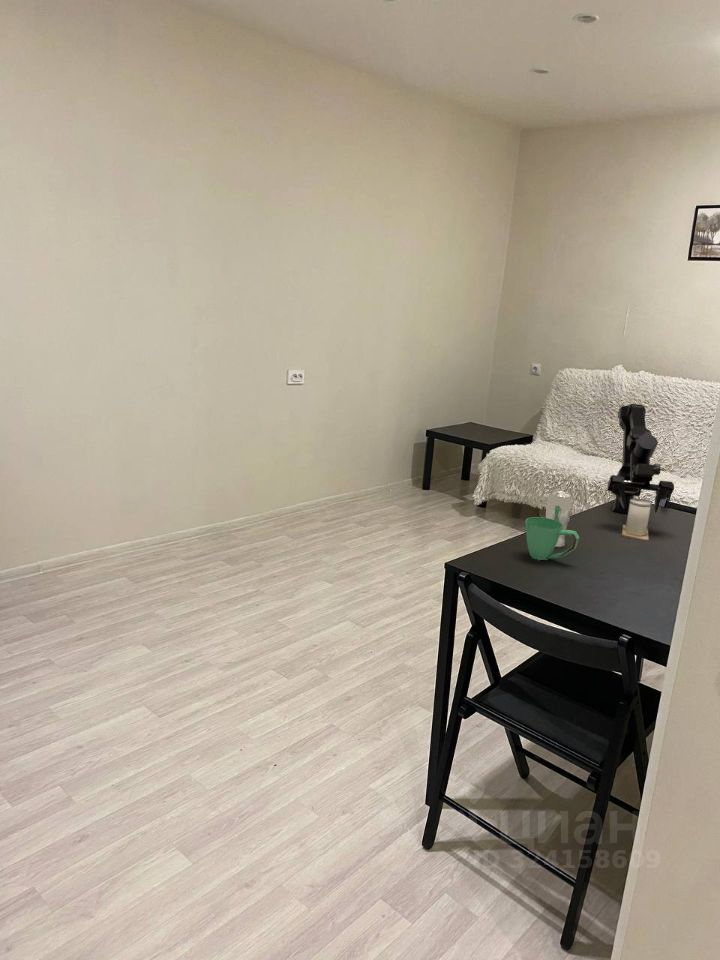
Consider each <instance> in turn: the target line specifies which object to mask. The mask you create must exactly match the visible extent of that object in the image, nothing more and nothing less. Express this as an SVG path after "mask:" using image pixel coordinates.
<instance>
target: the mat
mask: <svg viewBox="0 0 720 960" xmlns="http://www.w3.org/2000/svg"><path fill="white" fill-rule="evenodd" d="M625 529H626V524H622V530H621V531H622V532H621V536H623V538H628V537H629V538H630V539H636V540H641V541H647V542H649V528H648V527H647V530H646V535H643V536H638V535H632V534H629V533H627V532H626V531H625ZM629 538H628V539H629Z"/></svg>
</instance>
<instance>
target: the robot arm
mask: <svg viewBox="0 0 720 960" xmlns="http://www.w3.org/2000/svg"><path fill="white" fill-rule="evenodd" d="M646 413H647V408H646V407H645V405H643V404H638V403H630V404H628V405H621V406H620V407H619V409H618V411H617V419H618V425H619V426H620V429H621V430H622V431H623V436H622V438H623V439H622V459H621V461H622V462H621V468H619V471H618V472H617V474H616V475H614V474H612V475H610V477H609V479H608V481H607V485H606V487H607V488H606V489H607V491H608V492H611V494H614V495H615V500H614V505H612V512H616V513H622V514H627V515H628V512H629V506H630V500H631V499H635V498H634V497H640V496H641V493H642V490H644V491H653V492H655V497H654V509H653V510H654V514H656V513H657V512H658V510H659V507H660V505H661V502H662V500H666V499H667V498H668V499H669V498H670V497H671V495H672V493H673V492H674V490H675V484H674V483H673V481H671V480H670V481H669V480H659V482H658V484H655V483H654V484H653V483H651V482H652V481H653V477H654V476H659V475H660V474H661V471H662V470H661V469H662V467H661V463H654V464H651V458H652V457H653V456H654V452H656V448H658V447H657V446H658V444H659V441H658V439H657V437H655V436H654V435H653V434H652V431H651V430H650V429H648V428H647V425H646Z"/></svg>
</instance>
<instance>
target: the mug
mask: <svg viewBox="0 0 720 960" xmlns="http://www.w3.org/2000/svg"><path fill="white" fill-rule="evenodd" d="M524 523H525V525H524V526H525V534H526V535H525V536H526V537H525V538H526V543H527V544H526V545H527V549H528V553H529V557H530V556H531V557H532V558H531V557H530V558H531V559H533V558H534V559H533V560H535V559H537V560H536V561H540V560H546V561H548V560H551V559H556V558H562V557H565V556H566V555H569V554H570V553H572V552H574V550H576V549H577V545H578V543H579V540H580V536H579V534H578V532H577V531H576V530H572V529H571V530H570V529H566V530H562V528H563V525H562V523H560V522H559V521H556V520H553V519H549V518H546V517H542V516H541V517H540V516H533V517H531V516H530V517H527V518H526V519H525V522H524ZM560 535H565V536H571V537H573V539H574V540H573V544H572V545H571V546H570V547H568V548H567V549H566V550H564V551H563V552H557V553H553V552H554V550H555V548H556V547H555V546H556V544H557V541H558V538H559V536H560Z"/></svg>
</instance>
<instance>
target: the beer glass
mask: <svg viewBox="0 0 720 960" xmlns="http://www.w3.org/2000/svg"><path fill="white" fill-rule="evenodd" d="M573 496H574V495H573V494H572V493H570V492H567V491H563V490H551V491H549V492H548V498H547V501H546V502H547V503H546V507H545V518H549V519H553V520H556V521H559V522H560V523H562V525H563V528H562V530H567V528H568V524H569V521H570V517H571V514H572V511H573V510H572V508H573ZM565 537H566V535H560V536H559V538H558V541H557V544H556V546H555V548H563V547H565V545H566V543H565V542H566V541H565V540H566V538H565Z"/></svg>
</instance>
